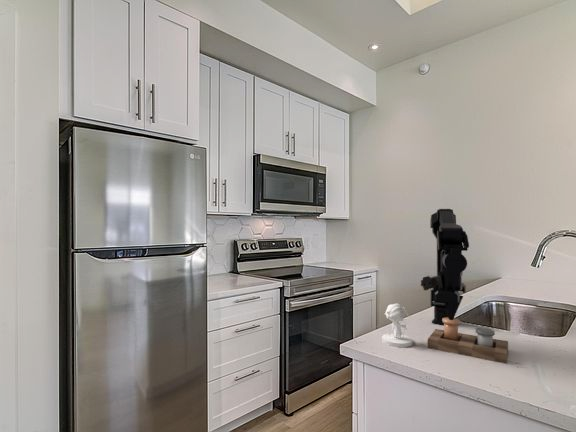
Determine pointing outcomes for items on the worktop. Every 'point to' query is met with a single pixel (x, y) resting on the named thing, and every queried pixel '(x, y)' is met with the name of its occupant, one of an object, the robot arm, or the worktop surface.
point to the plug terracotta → (450, 328)
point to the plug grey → (485, 337)
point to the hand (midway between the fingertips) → (451, 319)
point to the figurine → (396, 327)
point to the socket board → (469, 346)
